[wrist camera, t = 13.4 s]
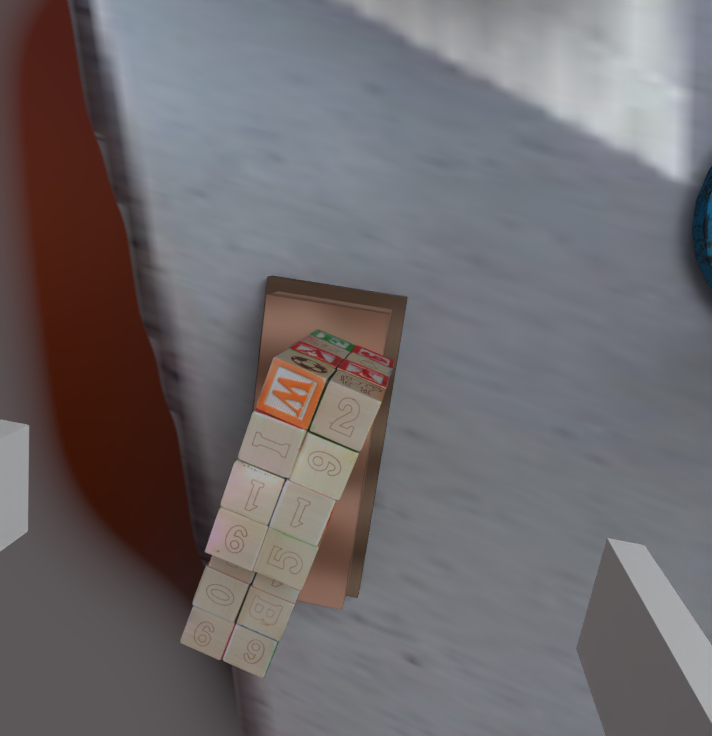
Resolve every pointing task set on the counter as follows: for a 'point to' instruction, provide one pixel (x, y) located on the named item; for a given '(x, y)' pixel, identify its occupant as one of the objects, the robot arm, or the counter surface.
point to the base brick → (354, 509)
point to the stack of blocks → (283, 495)
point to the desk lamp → (704, 229)
